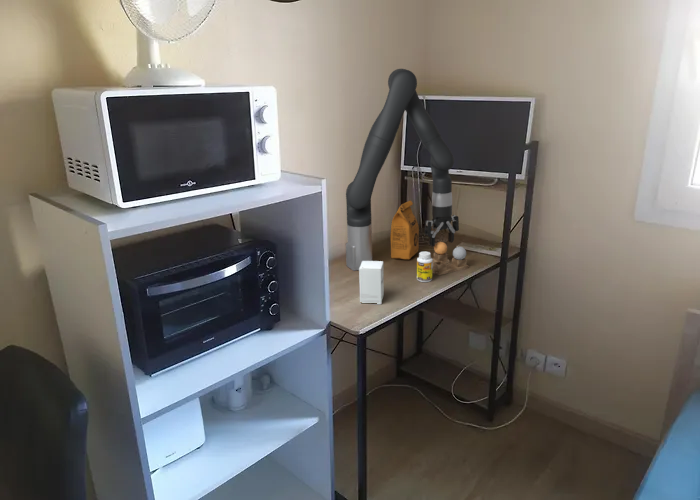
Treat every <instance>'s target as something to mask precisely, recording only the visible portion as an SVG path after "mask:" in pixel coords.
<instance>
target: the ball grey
mask: <svg viewBox="0 0 700 500" xmlns="http://www.w3.org/2000/svg"><path fill="white" fill-rule="evenodd" d="M452 256H453V258H455V259H457V260H462V259H464V258H465V259H466V256H467V251H466V249H465V248H464V247H463V246H456V247H455V248H454V249H453V250H452Z"/></svg>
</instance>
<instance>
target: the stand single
mask: <svg viewBox="0 0 700 500" xmlns="http://www.w3.org/2000/svg"><path fill="white" fill-rule="evenodd" d="M431 258H432V259H433V262H437V261H443V262H445V263H447V264H450V259H448V253H447V252H446V253H444V254H442V255H440V254H437V253H436V252H435V251H434V252H433V257H431Z"/></svg>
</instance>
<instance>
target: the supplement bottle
mask: <svg viewBox="0 0 700 500" xmlns="http://www.w3.org/2000/svg"><path fill="white" fill-rule="evenodd" d="M431 255H432V254H431V252H430V251H420V252H419V253H418V257H417V258H416V280H417V281H419V282H421V283H429V282H431V281H432V280H433V272H432V267H433V259H432V258H433V257H431Z"/></svg>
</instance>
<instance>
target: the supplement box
mask: <svg viewBox="0 0 700 500" xmlns="http://www.w3.org/2000/svg"><path fill="white" fill-rule="evenodd" d="M358 274H359V275H358V281H359V303H360V302H362V303H377V304H376V305H382V303H383V298H384V296H385V295H384V293H385V292H384V283H385V282H384V279H385V278H384V276H385V275H384V261H383V260H382V261H381V260H380V261H379V260H372V261H362V263H361V265H360V268H359V270H358Z"/></svg>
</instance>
